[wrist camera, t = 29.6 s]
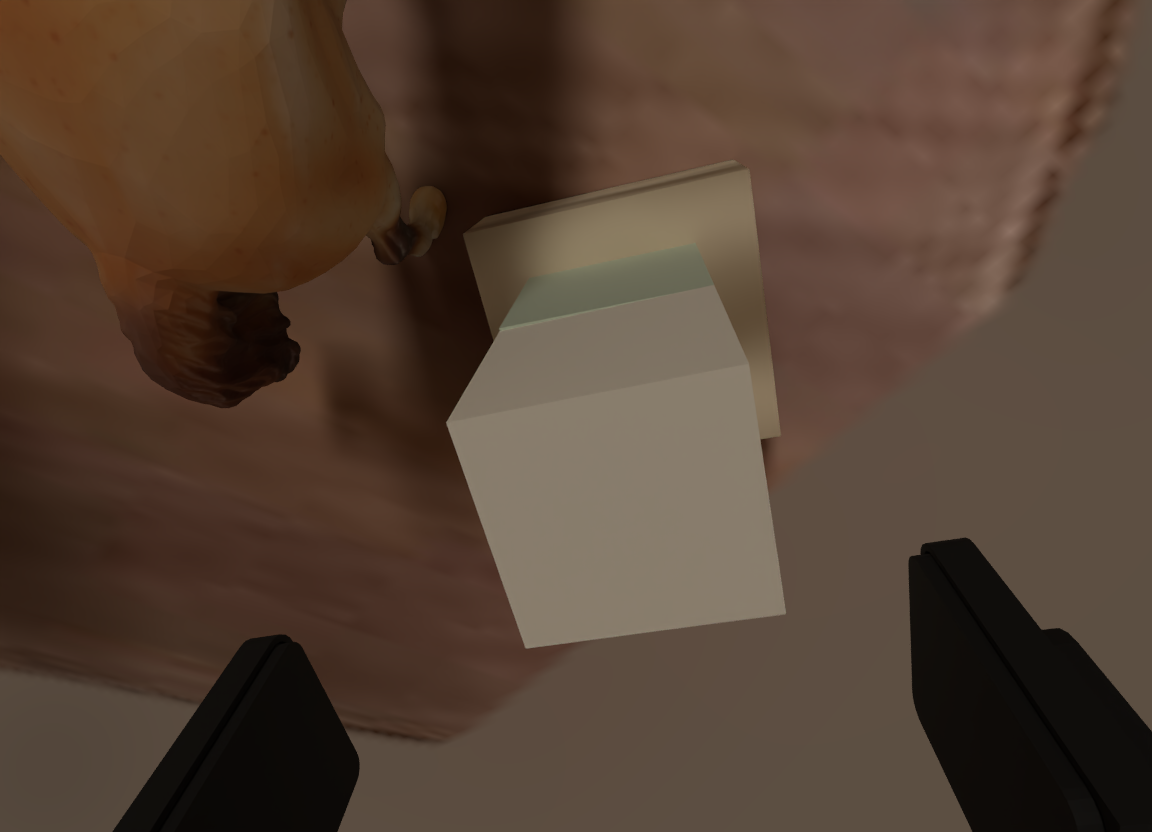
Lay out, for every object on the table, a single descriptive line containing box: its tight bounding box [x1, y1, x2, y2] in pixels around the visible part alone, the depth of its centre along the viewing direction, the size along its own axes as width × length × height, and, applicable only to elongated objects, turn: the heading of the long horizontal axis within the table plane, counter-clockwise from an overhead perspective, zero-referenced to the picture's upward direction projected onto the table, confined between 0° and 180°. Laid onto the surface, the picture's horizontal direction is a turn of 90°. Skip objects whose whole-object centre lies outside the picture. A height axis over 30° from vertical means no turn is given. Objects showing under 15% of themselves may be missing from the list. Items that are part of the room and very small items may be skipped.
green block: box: [499, 243, 714, 331], centre depth 22 cm, size 6×6×6 cm
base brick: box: [463, 160, 781, 439], centre depth 27 cm, size 10×10×4 cm
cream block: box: [446, 285, 786, 648], centre depth 17 cm, size 6×6×6 cm
